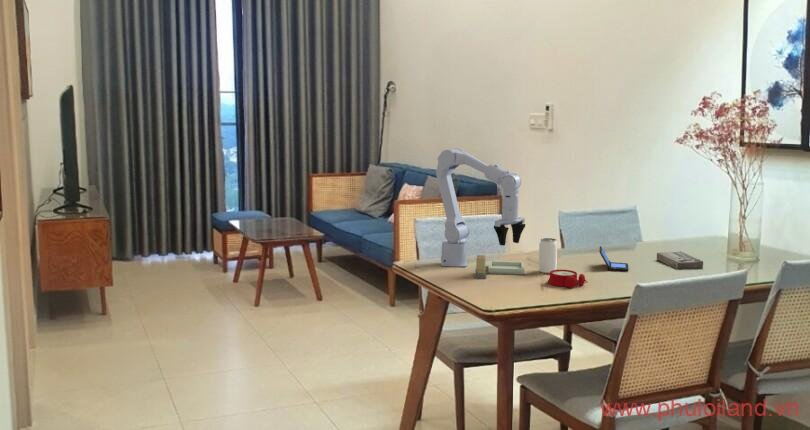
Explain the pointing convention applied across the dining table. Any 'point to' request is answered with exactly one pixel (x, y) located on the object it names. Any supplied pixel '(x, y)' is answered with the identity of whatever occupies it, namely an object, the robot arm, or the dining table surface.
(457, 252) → the robot arm
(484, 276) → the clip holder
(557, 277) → the alarm clock
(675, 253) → the box
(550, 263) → the can
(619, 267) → the handheld game console
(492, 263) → the tray
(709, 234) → the dining table surface
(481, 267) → the carton
